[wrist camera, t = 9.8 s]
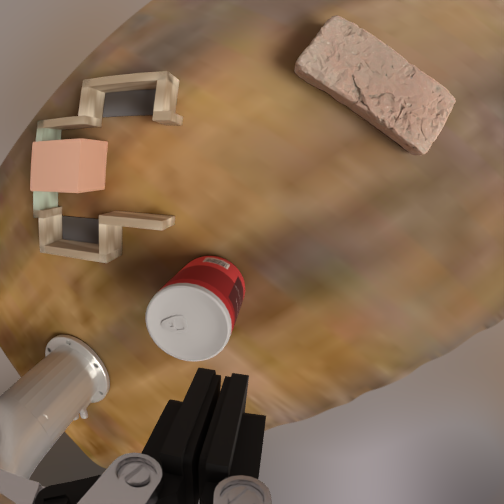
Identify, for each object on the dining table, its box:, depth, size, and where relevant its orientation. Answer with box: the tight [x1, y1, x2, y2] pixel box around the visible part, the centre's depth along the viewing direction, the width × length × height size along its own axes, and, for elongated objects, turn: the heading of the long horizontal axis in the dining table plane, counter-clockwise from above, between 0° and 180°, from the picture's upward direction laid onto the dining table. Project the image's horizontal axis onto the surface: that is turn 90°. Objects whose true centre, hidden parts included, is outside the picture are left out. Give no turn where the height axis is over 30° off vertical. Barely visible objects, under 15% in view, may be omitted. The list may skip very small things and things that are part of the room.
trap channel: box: [33, 71, 183, 263], centre depth 34 cm, size 22×19×4 cm
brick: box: [294, 16, 455, 155], centre depth 29 cm, size 17×8×5 cm, turn 58°
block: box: [30, 138, 108, 193], centre depth 34 cm, size 6×8×6 cm
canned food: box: [146, 256, 245, 361], centre depth 33 cm, size 8×8×11 cm
